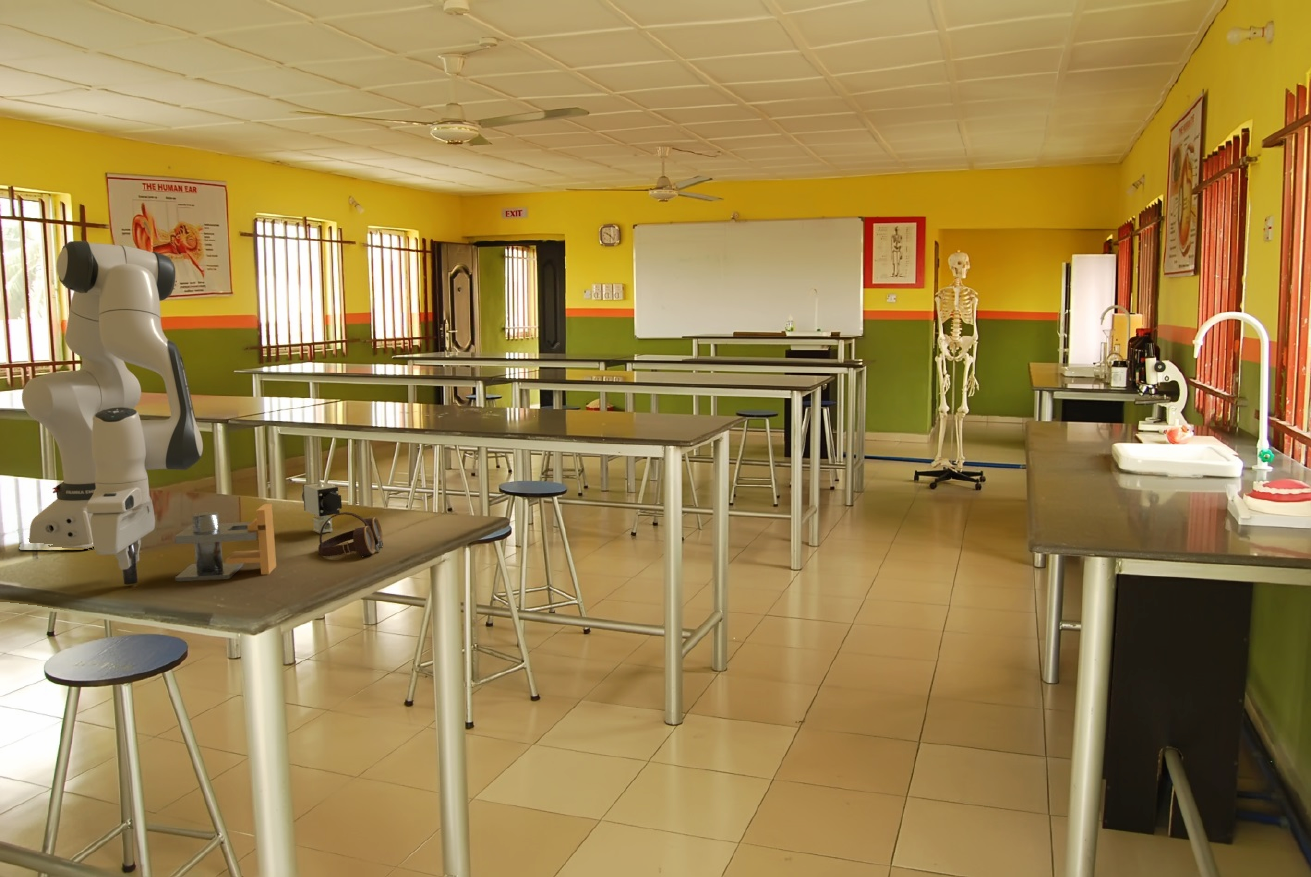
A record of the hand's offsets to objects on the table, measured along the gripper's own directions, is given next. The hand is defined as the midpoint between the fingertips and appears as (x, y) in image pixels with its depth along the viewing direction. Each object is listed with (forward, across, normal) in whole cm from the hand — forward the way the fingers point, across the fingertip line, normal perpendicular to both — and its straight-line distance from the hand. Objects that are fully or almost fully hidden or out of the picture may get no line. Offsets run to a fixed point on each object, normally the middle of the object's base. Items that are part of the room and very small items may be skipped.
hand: (129, 565), depth 191 cm
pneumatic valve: (+4, -40, +28) cm, 49 cm away
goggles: (+4, -20, +37) cm, 43 cm away
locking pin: (+3, 0, 0) cm, 3 cm away
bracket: (+4, -7, +20) cm, 22 cm away
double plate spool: (+4, -7, +15) cm, 17 cm away
